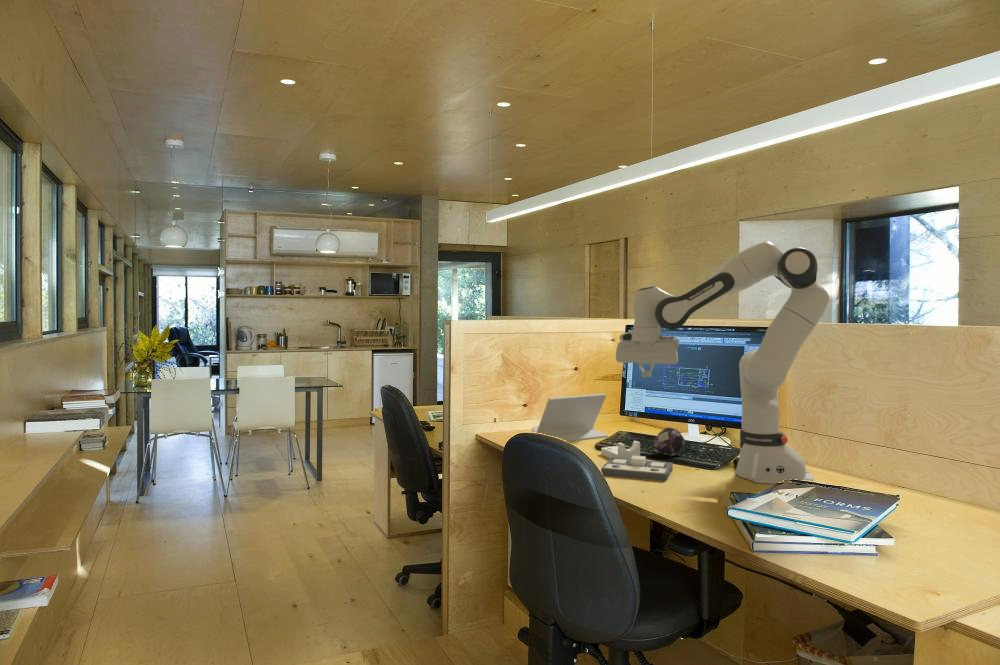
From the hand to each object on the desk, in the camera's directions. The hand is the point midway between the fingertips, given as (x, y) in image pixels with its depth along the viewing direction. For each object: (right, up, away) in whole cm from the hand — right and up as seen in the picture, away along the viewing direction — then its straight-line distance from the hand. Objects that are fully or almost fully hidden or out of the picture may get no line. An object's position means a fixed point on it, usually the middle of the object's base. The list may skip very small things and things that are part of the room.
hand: (646, 376), depth 236 cm
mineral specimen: (+10, -28, +12) cm, 32 cm away
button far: (-10, -29, -9) cm, 32 cm away
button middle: (-5, -28, -11) cm, 30 cm away
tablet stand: (-21, -26, +43) cm, 55 cm away
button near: (+1, -29, -13) cm, 32 cm away
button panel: (-5, -30, -12) cm, 33 cm away
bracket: (-8, -29, +5) cm, 31 cm away
